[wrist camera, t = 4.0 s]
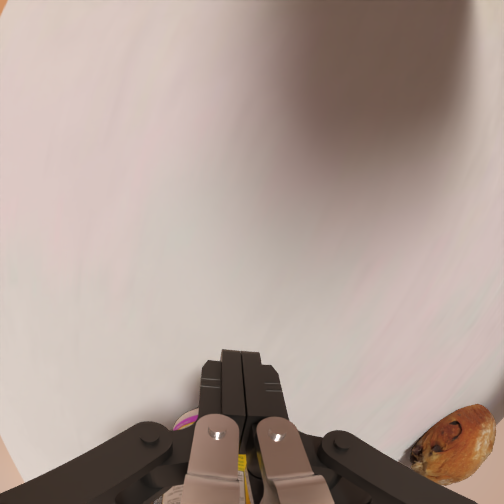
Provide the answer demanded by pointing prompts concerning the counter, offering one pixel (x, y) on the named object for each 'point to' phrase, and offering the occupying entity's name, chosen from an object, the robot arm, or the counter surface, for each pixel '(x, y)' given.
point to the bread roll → (455, 445)
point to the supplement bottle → (175, 493)
